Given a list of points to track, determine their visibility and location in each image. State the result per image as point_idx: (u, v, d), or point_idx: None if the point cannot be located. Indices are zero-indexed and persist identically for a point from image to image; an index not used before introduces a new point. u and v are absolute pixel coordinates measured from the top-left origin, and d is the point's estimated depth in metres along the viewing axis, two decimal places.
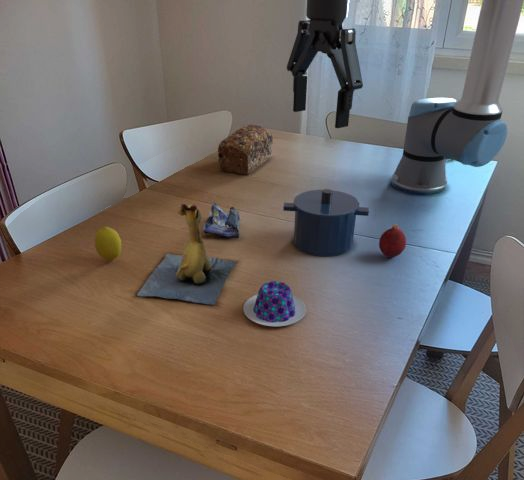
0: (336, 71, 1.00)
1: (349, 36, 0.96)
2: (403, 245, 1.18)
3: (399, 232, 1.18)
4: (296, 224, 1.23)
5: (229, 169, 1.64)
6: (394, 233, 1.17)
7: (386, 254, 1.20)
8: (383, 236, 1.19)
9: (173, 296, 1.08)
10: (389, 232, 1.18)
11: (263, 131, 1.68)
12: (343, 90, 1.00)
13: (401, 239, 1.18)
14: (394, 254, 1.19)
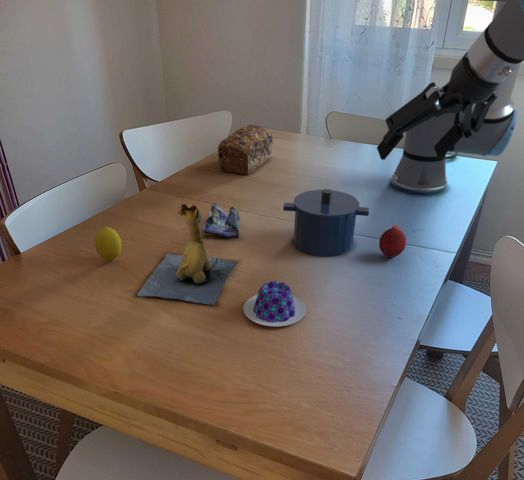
0: (465, 123, 0.98)
1: None
2: (403, 245, 1.18)
3: (399, 232, 1.18)
4: (296, 224, 1.23)
5: (229, 169, 1.64)
6: (394, 233, 1.17)
7: (386, 254, 1.20)
8: (383, 236, 1.19)
9: (173, 296, 1.08)
10: (389, 232, 1.18)
11: (263, 131, 1.68)
12: None
13: (401, 239, 1.18)
14: (394, 254, 1.19)
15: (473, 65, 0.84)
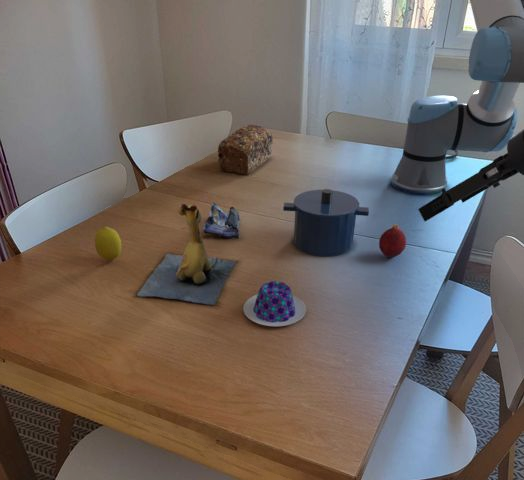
0: None
1: None
2: (403, 245, 1.18)
3: (399, 232, 1.18)
4: (296, 224, 1.23)
5: (229, 169, 1.64)
6: (395, 233, 1.17)
7: (386, 254, 1.20)
8: (383, 236, 1.19)
9: (173, 296, 1.08)
10: (389, 232, 1.18)
11: (263, 131, 1.68)
12: None
13: (401, 239, 1.18)
14: (394, 254, 1.19)
15: None
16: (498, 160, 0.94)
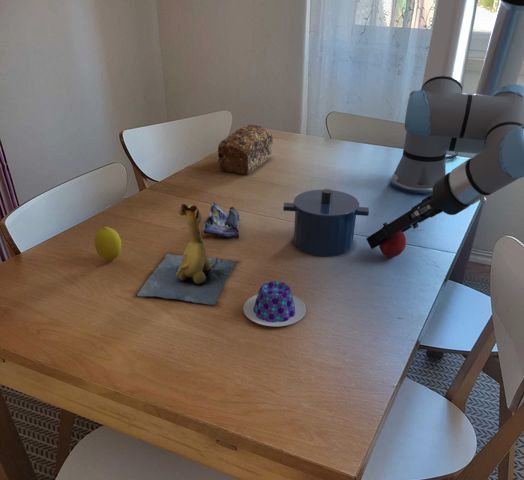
0: None
1: None
2: (403, 245, 1.18)
3: (399, 232, 1.18)
4: (296, 224, 1.23)
5: (229, 169, 1.64)
6: None
7: (386, 254, 1.20)
8: None
9: (173, 296, 1.08)
10: None
11: (263, 131, 1.68)
12: None
13: (401, 239, 1.18)
14: (394, 254, 1.19)
15: (456, 195, 1.00)
16: (426, 200, 1.07)
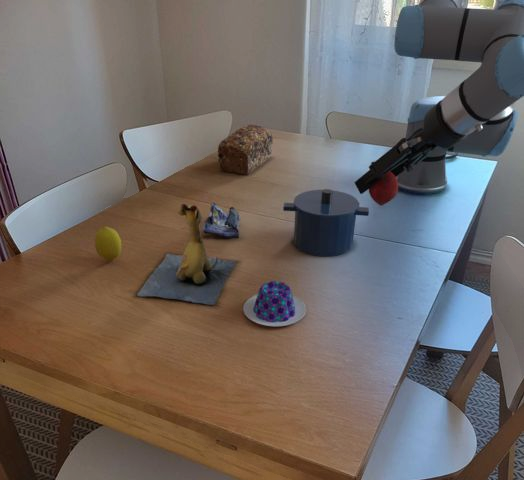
0: (416, 159, 1.05)
1: None
2: (394, 189, 1.08)
3: (390, 174, 1.07)
4: (296, 224, 1.23)
5: (229, 169, 1.64)
6: (385, 175, 1.07)
7: (376, 199, 1.09)
8: None
9: (173, 296, 1.08)
10: None
11: (263, 131, 1.68)
12: None
13: (393, 182, 1.07)
14: (385, 199, 1.08)
15: (448, 122, 0.89)
16: (418, 132, 0.97)
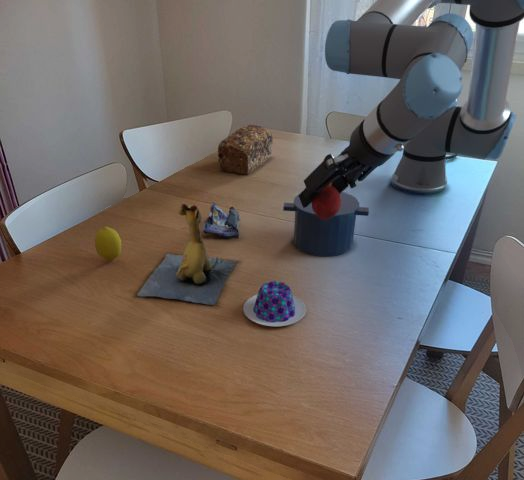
0: (355, 176, 1.02)
1: None
2: (335, 205, 1.05)
3: (331, 190, 1.05)
4: (296, 224, 1.23)
5: (229, 169, 1.64)
6: (325, 190, 1.05)
7: (317, 214, 1.07)
8: None
9: (173, 296, 1.08)
10: None
11: (263, 131, 1.68)
12: None
13: (333, 197, 1.05)
14: (325, 214, 1.06)
15: (368, 140, 0.87)
16: None
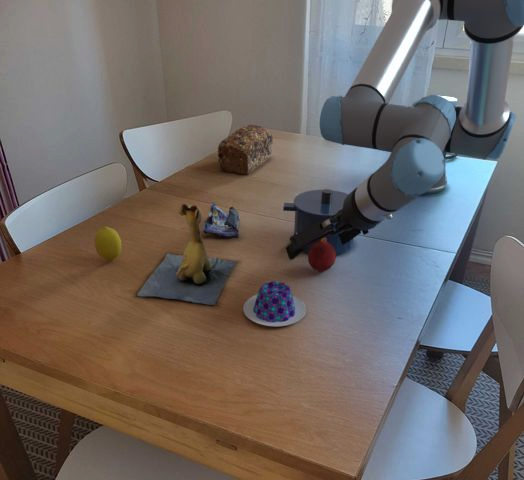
0: None
1: None
2: (330, 260, 1.13)
3: (326, 246, 1.12)
4: (296, 224, 1.23)
5: (229, 169, 1.64)
6: (321, 246, 1.12)
7: (313, 268, 1.15)
8: (311, 249, 1.14)
9: (173, 296, 1.08)
10: (316, 245, 1.13)
11: (263, 131, 1.68)
12: None
13: (328, 253, 1.12)
14: (321, 268, 1.14)
15: (360, 209, 0.94)
16: (341, 212, 1.01)
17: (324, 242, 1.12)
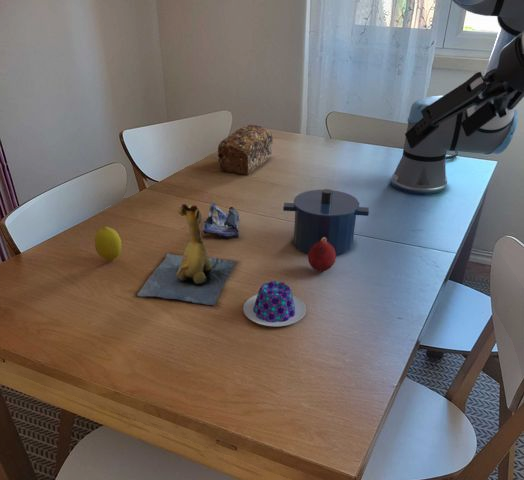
0: (503, 105, 0.90)
1: None
2: (330, 260, 1.13)
3: (326, 246, 1.12)
4: (296, 224, 1.23)
5: (229, 169, 1.64)
6: (321, 246, 1.12)
7: (313, 268, 1.15)
8: (311, 249, 1.14)
9: (173, 296, 1.08)
10: (316, 245, 1.13)
11: (263, 131, 1.68)
12: None
13: (328, 253, 1.12)
14: (321, 268, 1.14)
15: None
16: None
17: (324, 242, 1.12)
